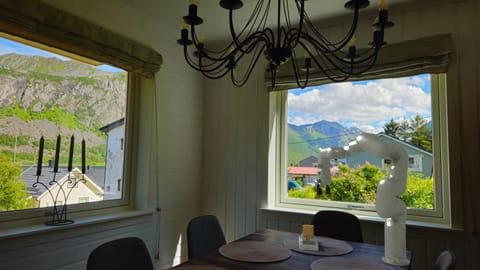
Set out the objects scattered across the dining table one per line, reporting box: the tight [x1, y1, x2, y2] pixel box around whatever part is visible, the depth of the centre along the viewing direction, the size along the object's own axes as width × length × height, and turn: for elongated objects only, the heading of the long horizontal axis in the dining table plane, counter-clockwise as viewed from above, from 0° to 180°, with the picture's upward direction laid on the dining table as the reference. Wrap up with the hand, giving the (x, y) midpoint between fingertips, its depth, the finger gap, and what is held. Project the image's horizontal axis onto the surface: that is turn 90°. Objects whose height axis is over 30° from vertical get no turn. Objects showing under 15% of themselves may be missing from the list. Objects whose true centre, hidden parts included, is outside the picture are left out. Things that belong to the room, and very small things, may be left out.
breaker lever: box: [302, 224, 314, 240], centre depth 184 cm, size 2×6×8 cm, turn 81°
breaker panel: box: [298, 232, 319, 252], centre depth 184 cm, size 20×10×5 cm, turn 171°
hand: (323, 194), depth 196 cm, fingers open, 9 cm apart
